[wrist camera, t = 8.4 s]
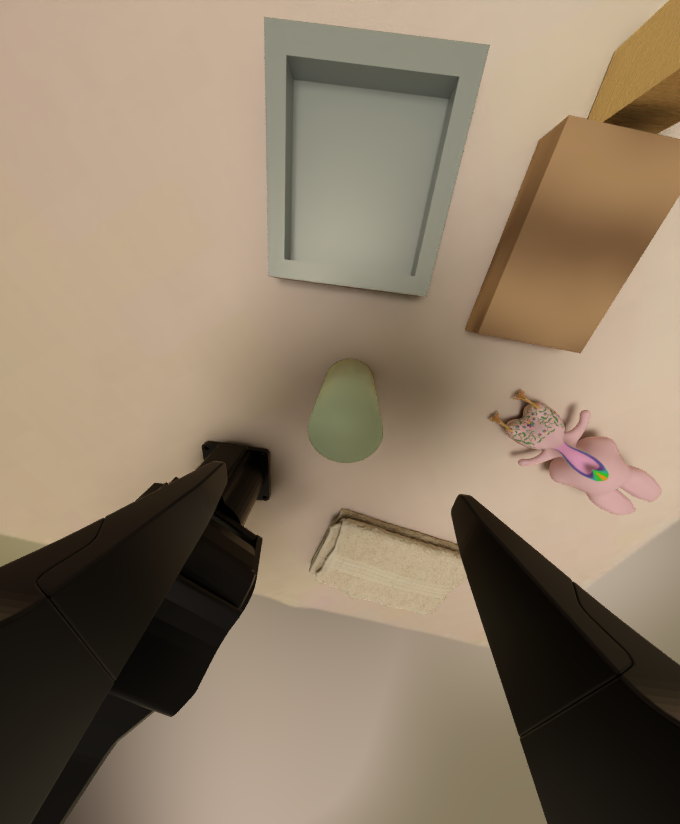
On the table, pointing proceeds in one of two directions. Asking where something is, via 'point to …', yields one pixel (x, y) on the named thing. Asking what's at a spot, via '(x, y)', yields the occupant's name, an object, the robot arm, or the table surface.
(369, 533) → the washcloth
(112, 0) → the table surface
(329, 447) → the pale green rounded cylinder
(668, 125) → the wooden block
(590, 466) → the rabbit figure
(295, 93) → the tray
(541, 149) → the brown flat block
